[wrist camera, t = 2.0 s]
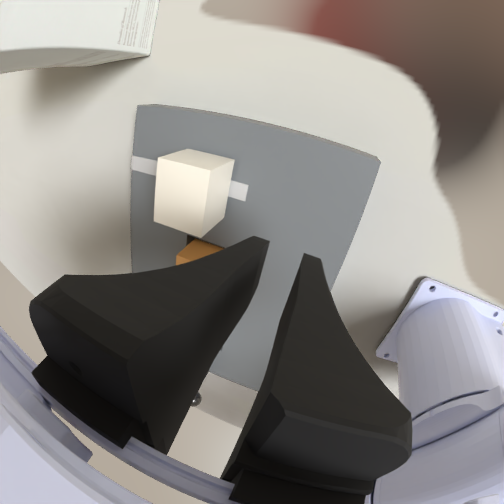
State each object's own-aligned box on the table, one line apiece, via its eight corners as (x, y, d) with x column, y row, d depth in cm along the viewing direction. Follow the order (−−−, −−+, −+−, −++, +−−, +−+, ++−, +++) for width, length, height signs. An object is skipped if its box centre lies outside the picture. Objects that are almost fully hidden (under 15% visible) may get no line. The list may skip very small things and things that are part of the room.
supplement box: (168, -25, 12) (27, -70, 1) (151, 57, 15) (-15, 58, 5) (100, -5, 13) (-23, -13, 3) (87, 67, 17) (-45, 86, 6)
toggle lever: (201, 365, 23) (202, 402, 20) (200, 374, 24) (200, 409, 21) (184, 364, 23) (183, 401, 20) (184, 373, 24) (183, 408, 21)
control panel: (377, 156, 15) (383, 165, 12) (280, 381, 26) (272, 405, 23) (155, 104, 17) (127, 106, 15) (148, 325, 28) (133, 343, 26)
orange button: (238, 253, 19) (223, 273, 17) (230, 290, 20) (216, 311, 18) (195, 238, 19) (176, 255, 17) (191, 275, 21) (174, 293, 19)
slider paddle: (234, 159, 15) (210, 170, 13) (224, 217, 17) (201, 238, 14) (187, 148, 16) (157, 157, 13) (181, 203, 17) (153, 221, 15)
